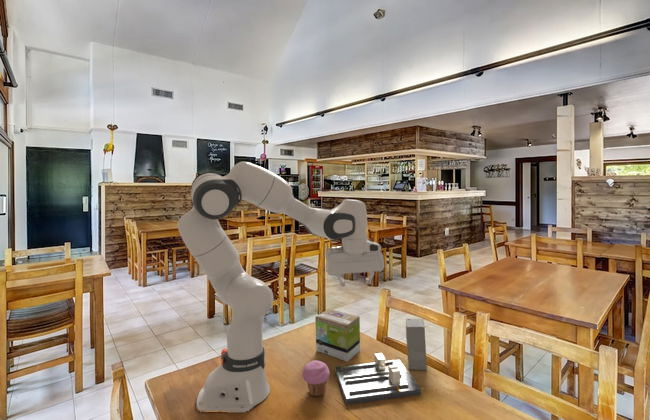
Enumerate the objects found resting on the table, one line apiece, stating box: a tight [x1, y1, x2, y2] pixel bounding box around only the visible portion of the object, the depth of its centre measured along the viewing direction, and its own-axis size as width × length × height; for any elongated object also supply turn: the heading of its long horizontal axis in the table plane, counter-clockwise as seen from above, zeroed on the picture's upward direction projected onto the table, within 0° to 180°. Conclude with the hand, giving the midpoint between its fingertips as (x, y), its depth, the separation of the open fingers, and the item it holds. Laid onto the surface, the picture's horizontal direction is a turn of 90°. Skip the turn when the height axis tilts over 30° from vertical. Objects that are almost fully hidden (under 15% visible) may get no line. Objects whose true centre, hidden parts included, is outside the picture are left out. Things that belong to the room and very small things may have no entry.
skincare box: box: [405, 318, 428, 371], centre depth 124 cm, size 8×7×16 cm
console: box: [334, 352, 422, 406], centre depth 114 cm, size 24×18×7 cm
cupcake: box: [302, 359, 331, 397], centre depth 109 cm, size 9×9×10 cm
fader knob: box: [388, 365, 400, 385], centre depth 110 cm, size 2×4×5 cm, turn 9°
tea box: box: [314, 308, 361, 363], centre depth 135 cm, size 15×10×15 cm, turn 55°
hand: (355, 284), depth 119 cm, fingers open, 8 cm apart
